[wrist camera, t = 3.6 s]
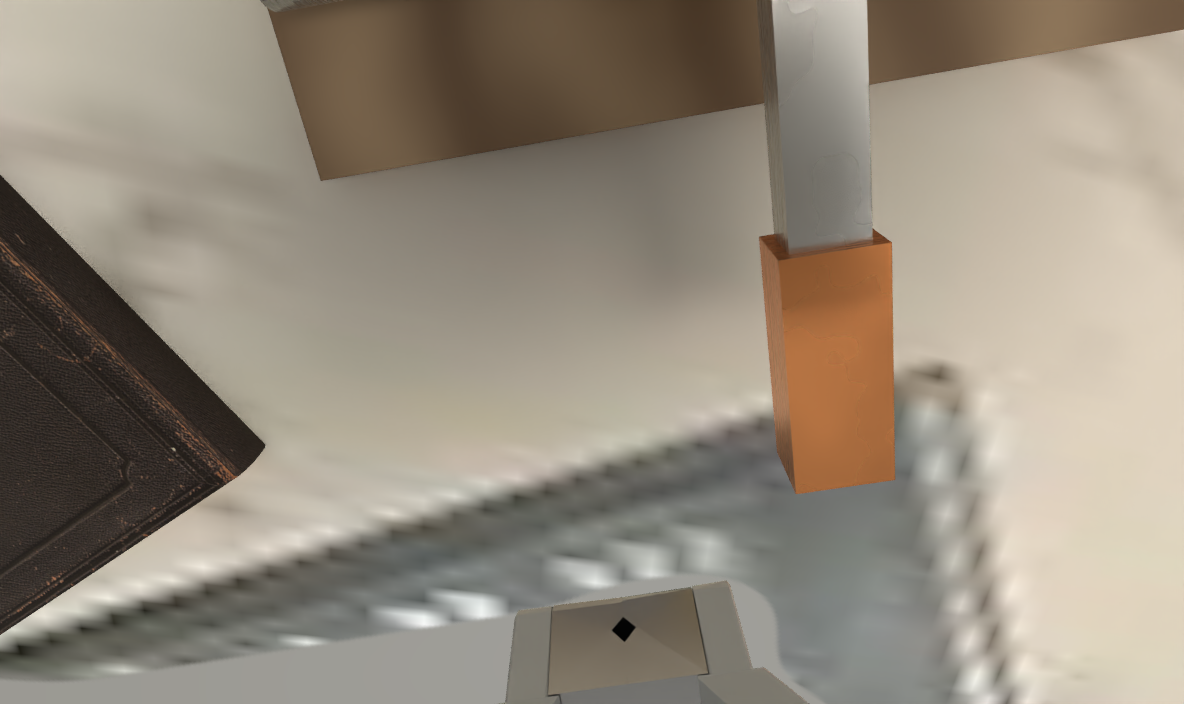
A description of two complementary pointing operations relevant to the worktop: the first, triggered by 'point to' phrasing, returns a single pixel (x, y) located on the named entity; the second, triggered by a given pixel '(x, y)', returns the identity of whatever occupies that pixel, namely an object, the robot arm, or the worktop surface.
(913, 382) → the worktop surface
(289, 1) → the valve body
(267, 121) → the worktop surface
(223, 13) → the worktop surface
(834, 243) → the valve lever
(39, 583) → the hardcover book
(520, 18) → the mount board
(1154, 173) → the worktop surface
